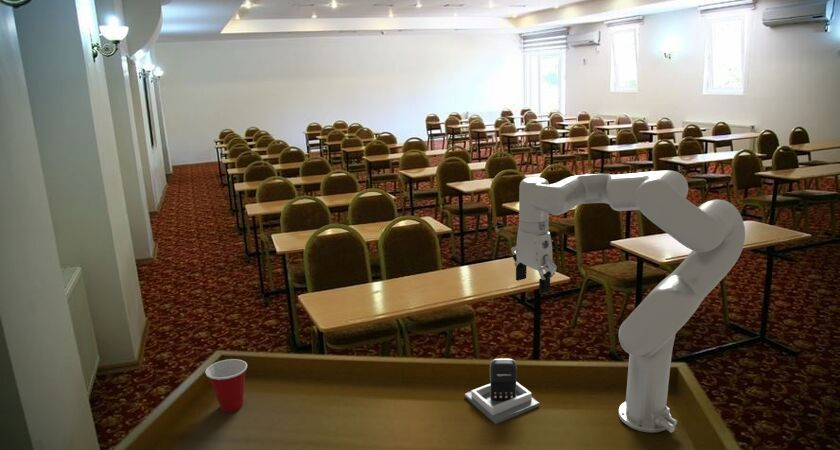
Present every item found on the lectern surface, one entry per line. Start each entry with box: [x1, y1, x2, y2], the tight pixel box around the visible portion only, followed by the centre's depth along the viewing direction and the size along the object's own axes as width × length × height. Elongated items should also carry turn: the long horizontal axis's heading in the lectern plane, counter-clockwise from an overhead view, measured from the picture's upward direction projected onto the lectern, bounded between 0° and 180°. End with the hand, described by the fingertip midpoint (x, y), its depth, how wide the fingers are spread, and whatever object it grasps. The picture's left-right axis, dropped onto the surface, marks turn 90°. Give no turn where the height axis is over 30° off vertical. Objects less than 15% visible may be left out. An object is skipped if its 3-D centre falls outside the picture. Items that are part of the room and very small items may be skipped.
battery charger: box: [489, 357, 518, 401], centre depth 163 cm, size 7×4×11 cm, turn 86°
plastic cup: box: [204, 358, 248, 413], centre depth 167 cm, size 11×11×12 cm
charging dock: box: [464, 381, 540, 425], centre depth 165 cm, size 14×14×3 cm
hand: (532, 285), depth 167 cm, fingers open, 9 cm apart
